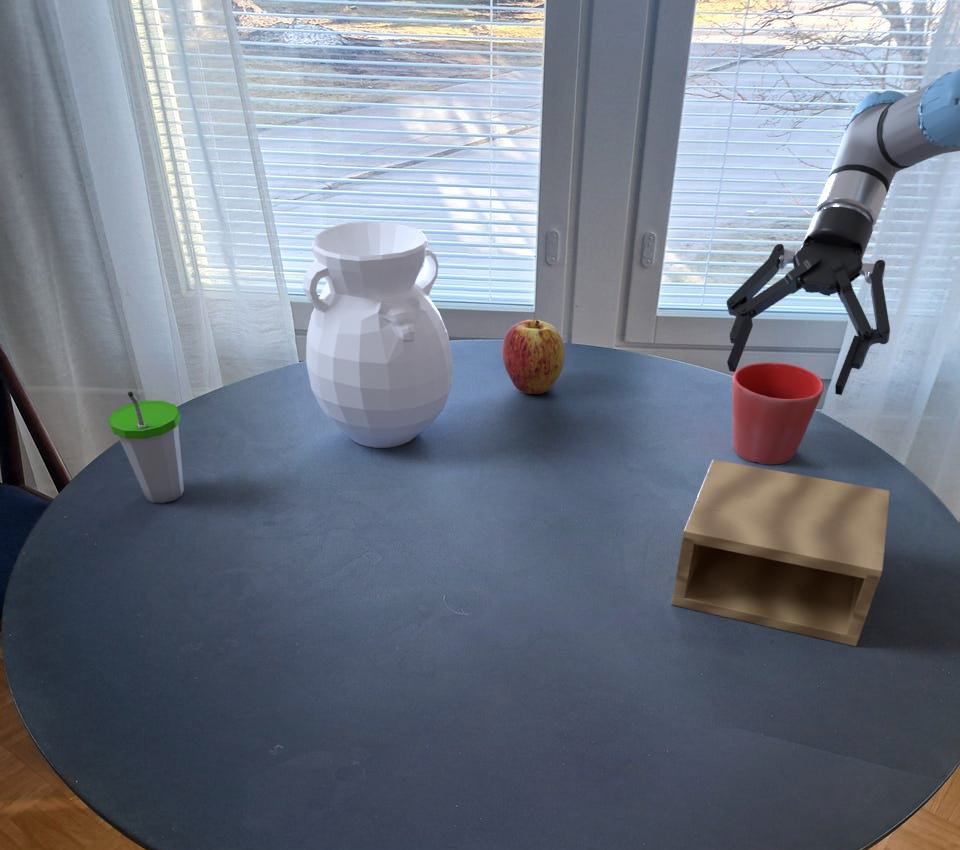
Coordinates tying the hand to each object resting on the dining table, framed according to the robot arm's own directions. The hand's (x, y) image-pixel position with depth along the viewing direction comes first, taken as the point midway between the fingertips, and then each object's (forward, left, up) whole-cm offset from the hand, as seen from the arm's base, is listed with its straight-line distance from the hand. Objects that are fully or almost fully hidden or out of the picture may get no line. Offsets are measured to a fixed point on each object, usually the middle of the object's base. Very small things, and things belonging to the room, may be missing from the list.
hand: (783, 378), depth 113 cm
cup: (+66, +40, -9) cm, 78 cm away
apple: (+34, -4, -9) cm, 36 cm away
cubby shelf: (-5, +32, -9) cm, 33 cm away
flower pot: (0, +3, -9) cm, 9 cm away
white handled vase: (+48, +16, -9) cm, 52 cm away
